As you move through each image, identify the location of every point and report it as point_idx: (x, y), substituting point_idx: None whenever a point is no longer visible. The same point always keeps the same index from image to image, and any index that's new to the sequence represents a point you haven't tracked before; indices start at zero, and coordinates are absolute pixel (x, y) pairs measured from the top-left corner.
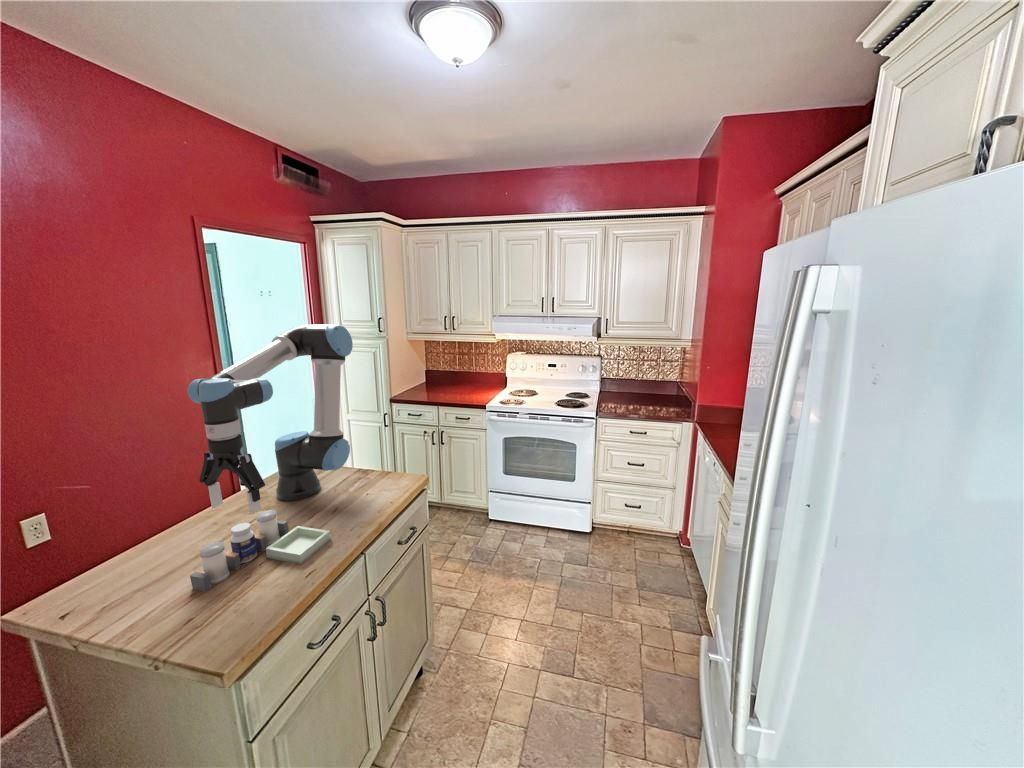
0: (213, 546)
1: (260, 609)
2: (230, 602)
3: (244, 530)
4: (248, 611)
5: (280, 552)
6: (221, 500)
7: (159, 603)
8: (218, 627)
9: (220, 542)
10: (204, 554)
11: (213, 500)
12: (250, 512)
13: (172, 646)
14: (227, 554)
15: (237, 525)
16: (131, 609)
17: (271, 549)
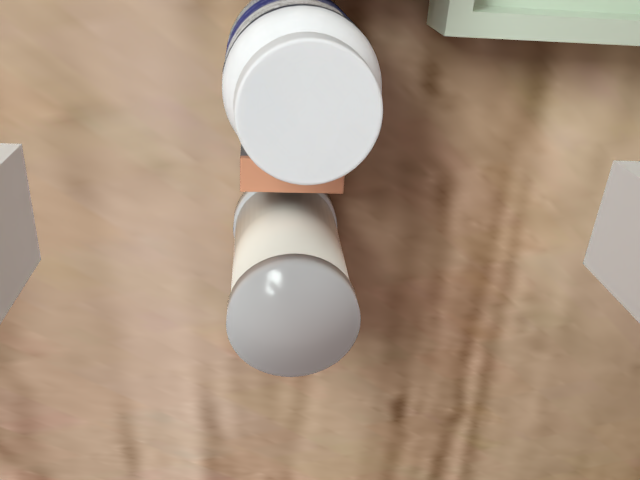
0: (290, 312)
1: (628, 318)
2: (481, 319)
3: (375, 140)
4: (587, 335)
5: (561, 41)
6: (7, 176)
7: (189, 383)
8: (528, 404)
9: (295, 271)
10: (307, 373)
11: (1, 301)
12: (597, 273)
13: (439, 476)
14: (284, 185)
15: (255, 100)
16: (114, 424)
17: (493, 37)
